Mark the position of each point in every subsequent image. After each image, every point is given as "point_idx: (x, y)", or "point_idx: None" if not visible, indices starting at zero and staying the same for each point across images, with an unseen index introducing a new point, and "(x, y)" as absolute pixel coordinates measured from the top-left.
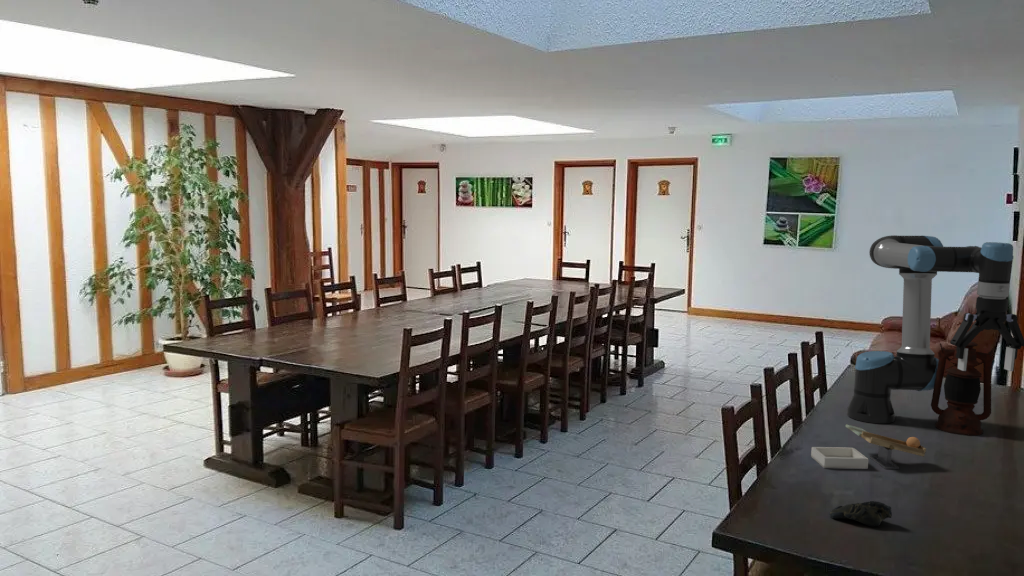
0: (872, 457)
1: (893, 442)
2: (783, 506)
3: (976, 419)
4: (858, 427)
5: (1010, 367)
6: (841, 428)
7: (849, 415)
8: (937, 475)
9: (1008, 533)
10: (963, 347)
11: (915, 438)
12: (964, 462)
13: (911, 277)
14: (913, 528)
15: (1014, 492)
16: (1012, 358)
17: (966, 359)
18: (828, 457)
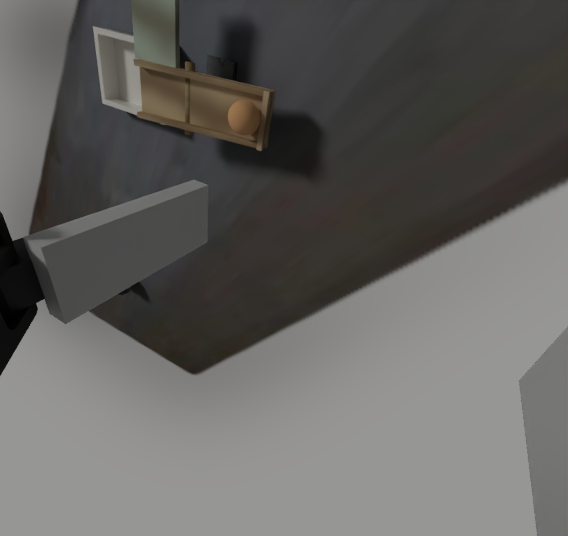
0: (207, 68)
1: (186, 127)
2: (64, 210)
3: None
4: None
5: (524, 402)
6: None
7: None
8: (278, 188)
9: (231, 349)
10: (26, 308)
11: (236, 126)
12: (411, 134)
13: None
14: (154, 299)
15: (347, 294)
16: (540, 496)
17: (145, 273)
18: (108, 101)
